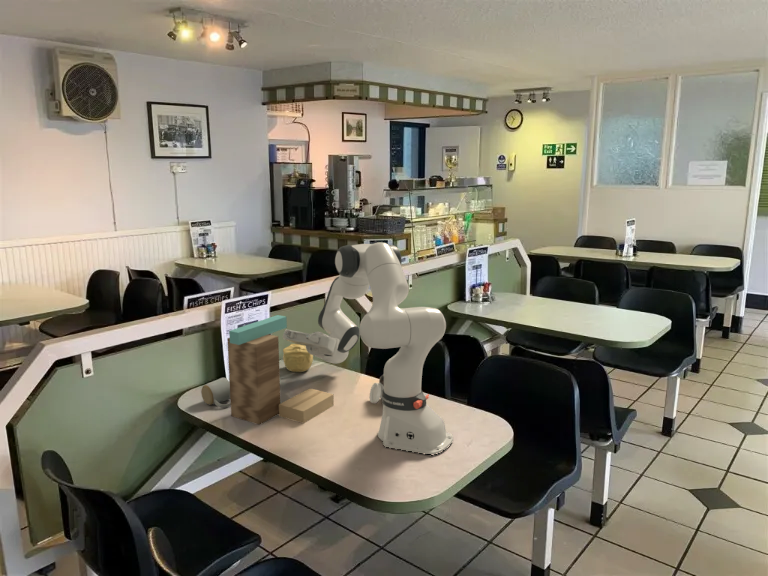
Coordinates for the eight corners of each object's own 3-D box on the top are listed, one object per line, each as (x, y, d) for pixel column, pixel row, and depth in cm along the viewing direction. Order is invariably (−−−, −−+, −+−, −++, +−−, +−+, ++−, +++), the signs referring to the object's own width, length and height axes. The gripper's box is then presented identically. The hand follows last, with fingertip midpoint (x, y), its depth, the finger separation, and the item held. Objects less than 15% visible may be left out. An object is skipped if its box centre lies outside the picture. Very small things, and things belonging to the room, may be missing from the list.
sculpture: (282, 375, 223) (281, 348, 221) (285, 364, 235) (284, 338, 233) (312, 374, 224) (311, 347, 222) (313, 364, 236) (313, 338, 233)
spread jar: (412, 403, 198) (412, 370, 196) (387, 412, 191) (387, 378, 188) (388, 392, 207) (388, 361, 204) (363, 401, 200) (363, 369, 197)
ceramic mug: (200, 402, 198) (199, 381, 196) (221, 395, 204) (220, 374, 202) (218, 411, 191) (216, 389, 189) (239, 404, 197) (238, 382, 195)
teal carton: (286, 327, 194) (286, 316, 193) (239, 344, 175) (238, 332, 174) (278, 326, 196) (277, 315, 195) (229, 342, 177) (229, 330, 176)
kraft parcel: (333, 405, 196) (333, 394, 195) (303, 423, 182) (303, 411, 181) (309, 399, 201) (309, 388, 200) (279, 416, 187) (278, 404, 186)
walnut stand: (280, 413, 190) (278, 336, 184) (259, 424, 181) (256, 344, 176) (253, 405, 196) (250, 330, 190) (231, 416, 187) (227, 338, 182)
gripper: (298, 331, 219) (276, 321, 207) (343, 340, 209) (322, 329, 197) (293, 347, 217) (271, 338, 206) (338, 357, 207) (317, 347, 196)
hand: (296, 334), depth 202 cm, fingers open, 8 cm apart
